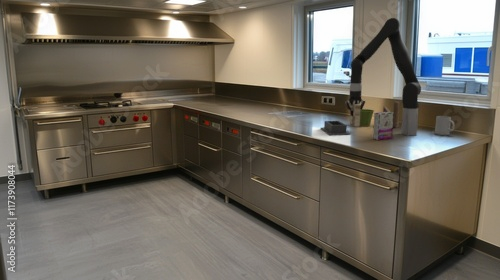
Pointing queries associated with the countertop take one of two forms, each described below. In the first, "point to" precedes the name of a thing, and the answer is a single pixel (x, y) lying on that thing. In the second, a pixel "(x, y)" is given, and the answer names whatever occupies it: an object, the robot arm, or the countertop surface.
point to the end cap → (335, 128)
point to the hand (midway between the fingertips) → (354, 115)
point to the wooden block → (394, 114)
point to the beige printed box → (355, 115)
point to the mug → (443, 125)
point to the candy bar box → (383, 125)
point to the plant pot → (365, 117)
